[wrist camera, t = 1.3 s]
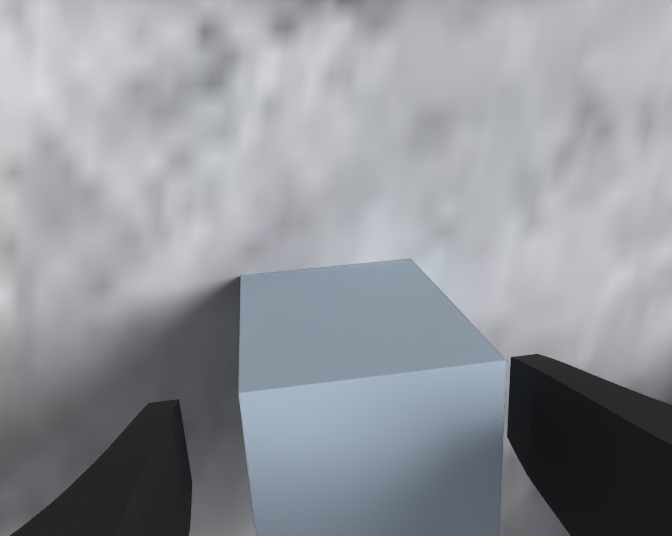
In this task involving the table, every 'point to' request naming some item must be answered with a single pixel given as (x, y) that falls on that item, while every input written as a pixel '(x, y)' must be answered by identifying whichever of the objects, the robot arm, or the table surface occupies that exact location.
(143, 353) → the table surface
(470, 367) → the slate block
